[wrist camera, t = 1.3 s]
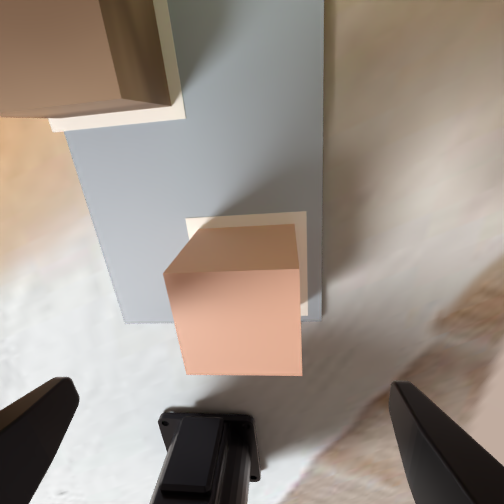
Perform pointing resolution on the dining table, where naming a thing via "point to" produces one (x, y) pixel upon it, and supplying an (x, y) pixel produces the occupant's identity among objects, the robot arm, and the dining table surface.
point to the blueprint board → (211, 146)
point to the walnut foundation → (79, 58)
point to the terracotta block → (238, 301)
